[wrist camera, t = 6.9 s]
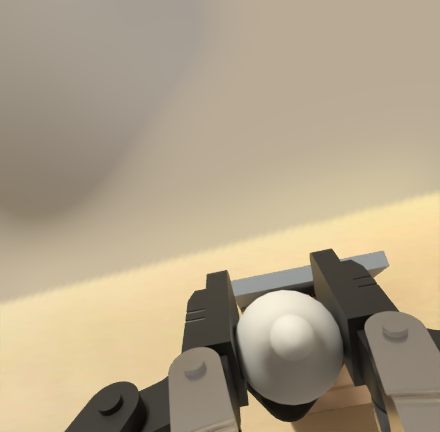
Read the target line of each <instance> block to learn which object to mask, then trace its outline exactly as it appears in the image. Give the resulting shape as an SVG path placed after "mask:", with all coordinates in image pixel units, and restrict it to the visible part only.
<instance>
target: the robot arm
mask: <svg viewBox="0 0 440 432" xmlns="http://www.w3.org/2000/svg"><path fill="white" fill-rule="evenodd" d="M310 263H311V269H312V276H313V282H314V289H315V294H316V298H317V301H318V302H320V303H321V304H322V305H323V306H324V307H325V308H326V309H327V310H328V311H329V312H330V313H331V314H332V316H333V318H334V320H335V321H336V323H337V325H338V326H339V329H340V333H341V336H342V340H343V353H344V358H343V361H344V363H345V366H346V368H347V370H348V372H349V374H350V377H351V379H352V381H353V383H354V386H355V387H357V386H363V385H366V386H367V388H368V390H369V392H370V394H371V402H372V409H373V413H374V416H375V420H376V424H377V427H378V431H379V432H440V330H433V329H428V328H426V327H425V326H424V324H423V323H422V322H421V321H420V320H418V319H417V318H415V317H413V316H411V315H409V314H406V313H402V312H399V310H398V309H397V308H396V307H395V305H394V304H393V303H392V302H391V300H390V299H389V298H388V296H387V295H386V294H385V293H384V291H383V290H382V289H381V288H380V286H379V285H377V283H376V281H375V280H374V279H373V277H371V275H370V274H369V272H368V271H367V270H366V269H365V267H364V266H363V265H361V264H359V263H357V262H355V261H353V260H346V261H340V260H339V258H338V257H337V255H336V254H335V252H334V251H333V250H332V249H327V250H322V251H317V252H312V253H310ZM239 319H240V318H239V313H238V308H237V304H236V300H235V296H234V292H233V289H232V285H231V281H230V277H229V273H228V271H227V270H225V271H220V272H215V273H211V274H207V280H206V289H203V290H198V291H195V292H194V293H193V295H192V296H191V298H190V299H189V301H188V305H187V314H186V323H185V329H184V337H183V345H182V353H181V354H180V355H179V356H178V357H177V358H176V359H175V360H174V361H173V363H172V364H171V366H170V368H169V373H168V376H167V377H166V378H165V379H163V380H162V381H160V382H158V383H156V384H154V385H152V386H150V387H148V388H146V389H143V390H141V391H138V389H137V387H136V386H135V385H134V384H132V383H130V382H117V383H113V384H111V385H109V386H106V387H105V388H103V389H102V390H100V391H99V392H98V393H97V394H95V395H94V396H93V397H92V399H91V400H90V401H89V402H88V403H87V405H86V406H85V407H84V408H83V410H82V411H81V412H80V413H79V414H78V416H77V417H76V418H75V419H74V421H73V422H72V423H71V424H70V426H69V427H68V428H67V429H66V430H65V432H242V430H241V427H240V425H241V418H240V407H242V406H248V405H249V404H248V394H247V384H246V379H245V378H244V376H243V375H242V372H241V368H240V364H239V359H238V353H237V348H236V341H235V331H236V328H237V325H238V322H239Z"/></svg>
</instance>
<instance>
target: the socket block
mask: <svg viewBox="0 0 440 432" xmlns="http://www.w3.org/2000/svg"><path fill="white" fill-rule="evenodd" d="M312 298H314V299H315V300H317V298H316V296H315V297H312ZM367 403H372V402H371V394H370V392H369V390H368V388H367V386H366V385H363V386H357V387H355V386H354V383H353V381H352V379H351V377H350V374H349V372H348V370H347V368H346V366H345V363H344V365H343V367H342V368H341V371H340V373H339V375H338V377H337V379H336V381H335V382H334V384H333V386H332V387H331V388H330V389H329V390H328V391H327V392H326V393H324V394H323V395H322V396H321V397H319V398H318V400H317V401H316V402H315V404H314V405H313V406H312V407H311V409H310V410H309V411H308V413H307V414H311V413H316V412H322V411H328V410H333V409H339V408H345V407H350V406H356V405H362V404H367Z"/></svg>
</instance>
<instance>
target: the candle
mask: <svg viewBox="0 0 440 432" xmlns="http://www.w3.org/2000/svg"><path fill="white" fill-rule="evenodd" d="M235 341H236V348H237V353H238V359H239V364H240V368H241V372H242V375H243V376H244V378H245V379H246V384H247V390H248V391H249V392H250V393H251V394H252V395H253V396H254V397H255V398H256V399H257V400H258V401H259V402H260V403H261V404H262V405H263V406H264V407H265V408H266V409H267V410H268V411H269V412H270V413H271V414H272V415H273V416H274V417H275V418H277V419H279V420H281V421H285V422H293V421H297V420H299V419H301V418H303V417H304V416H305V415H306V414H307V413H308V411H309V410H310V409H311V407H312V406H313V405H314V404H315V402H316V401H317V400H318V398H319V397H321V396H322V395H323V394H324V393H326V392H327V391H328V390H329V389H330V388H331V387H332V386H333V384H334V382H335V381H336V379H337V377H338V375H339V373H340V371H341V368H342V367H343V365H344V361H343V358H344V353H343V340H342V336H341V333H340V329H339V326H338V325H337V323H336V321H335V320H334V318H333V316H332V314H331V313H330V312H329V311H328V310H327V309H326V308H325V307H324V306H323V305H322V304H321V303H320V302H318V301H317V300H315V299H314V298H312V297H310V296H309V295H306V294H303V293H300V292H297V291H288V290H278V289H276V290H271V291H269V292H267V293H265V294H264V295H263V296H261V297H259V298H257V299H256V300H255V301H254V302H253V303H251V304H250V305H249V306H248V307H247V308H246V310H245V311H244V313H243V314H242V316H241V317H240V319H239V322H238V325H237V328H236V331H235Z"/></svg>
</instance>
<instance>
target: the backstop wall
mask: <svg viewBox="0 0 440 432" xmlns="http://www.w3.org/2000/svg"><path fill="white" fill-rule="evenodd" d="M339 260H340V261H346V260H353V261H355V262H357V263H359V264H361V265H363V266H364V267H365V269H366V270H367V271H368V272H369V274H370V275H371V277H373V278H374V277H375V276H376V275H378V274H379V273H380V272H382V271H383V270H384V269H386V268H387V267H388V266H389V263H388V261H387V258H386V256H385V253H384V251H379V252H374V253H369V254H364V255H359V256H354V257H349V258H344V259H339ZM231 285H232V289H233V292H234V296H235V300H236V302H237V304H238V306H239V308H242V307H248V306H249V305H250V304H251V303H253V302H254V301H255V300H256V299H257V298H259V297H261V296H263V295H264V294H265V293H267V292H269V291H271V290H276V289H278V290H288V291H297V292H300V293H303V294H306V295H309V294H314V293H315V289H314V282H313V276H312V269H311V265H309V266H304V267H299V268H294V269H289V270H284V271H279V272H274V273H269V274H264V275H259V276H254V277H249V278H244V279H239V280H234V281H231Z"/></svg>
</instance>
